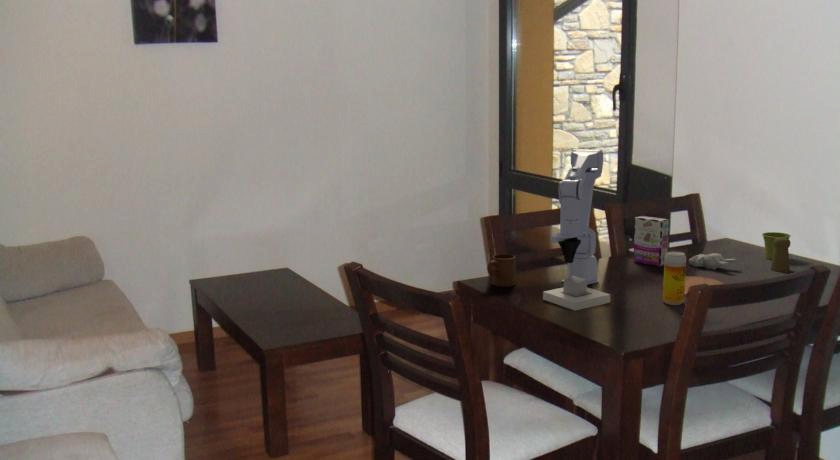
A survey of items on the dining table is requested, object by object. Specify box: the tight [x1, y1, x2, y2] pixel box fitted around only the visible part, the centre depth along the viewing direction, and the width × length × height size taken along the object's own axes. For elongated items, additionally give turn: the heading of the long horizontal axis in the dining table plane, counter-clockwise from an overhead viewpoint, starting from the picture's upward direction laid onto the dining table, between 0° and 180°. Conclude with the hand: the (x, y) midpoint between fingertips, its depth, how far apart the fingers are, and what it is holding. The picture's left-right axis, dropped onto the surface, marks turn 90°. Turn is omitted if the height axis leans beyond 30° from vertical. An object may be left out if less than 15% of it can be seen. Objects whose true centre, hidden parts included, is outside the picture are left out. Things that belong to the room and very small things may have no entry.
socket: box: [542, 286, 611, 311], centre depth 248 cm, size 14×14×3 cm
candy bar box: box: [633, 215, 670, 268], centre depth 290 cm, size 11×5×16 cm, turn 42°
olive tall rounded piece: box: [770, 238, 791, 273], centre depth 279 cm, size 6×6×11 cm
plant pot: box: [761, 231, 792, 260], centre depth 295 cm, size 9×9×9 cm
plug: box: [563, 276, 588, 297], centre depth 248 cm, size 5×5×6 cm
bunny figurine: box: [688, 252, 738, 271], centre depth 284 cm, size 10×5×15 cm
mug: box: [486, 253, 517, 288], centre depth 266 cm, size 12×8×9 cm, turn 137°
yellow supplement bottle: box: [662, 251, 687, 306], centre depth 244 cm, size 6×6×15 cm
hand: (568, 262), depth 253 cm, fingers closed
